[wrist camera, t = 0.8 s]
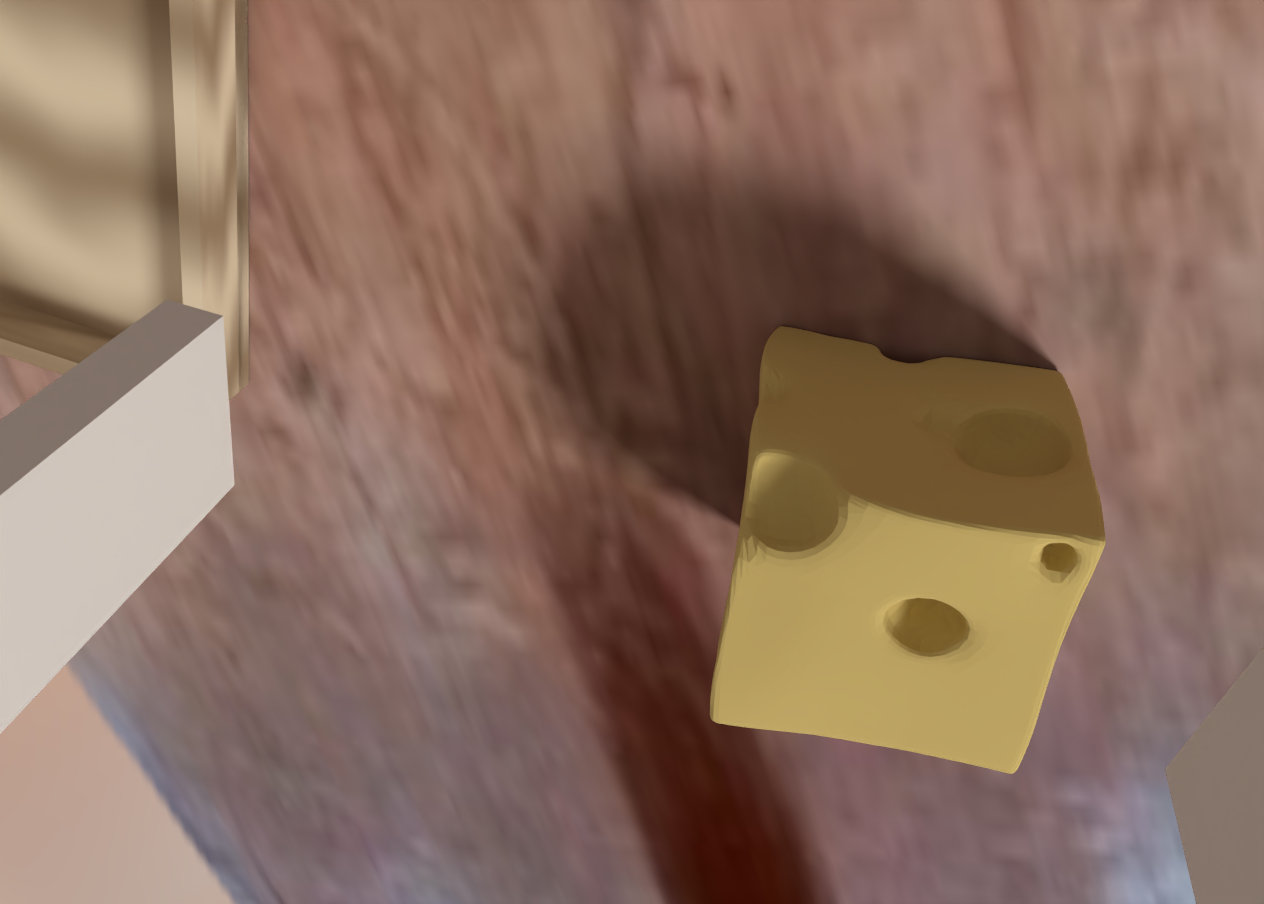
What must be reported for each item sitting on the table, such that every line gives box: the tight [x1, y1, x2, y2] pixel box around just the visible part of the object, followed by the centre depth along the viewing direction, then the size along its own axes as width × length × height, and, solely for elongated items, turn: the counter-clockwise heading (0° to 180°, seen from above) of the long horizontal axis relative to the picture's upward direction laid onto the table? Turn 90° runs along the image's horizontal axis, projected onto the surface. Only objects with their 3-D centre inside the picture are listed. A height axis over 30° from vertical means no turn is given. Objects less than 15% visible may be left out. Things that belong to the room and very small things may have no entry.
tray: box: [0, 0, 249, 400], centre depth 38 cm, size 18×18×3 cm
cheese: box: [710, 326, 1106, 774], centre depth 34 cm, size 10×11×10 cm
